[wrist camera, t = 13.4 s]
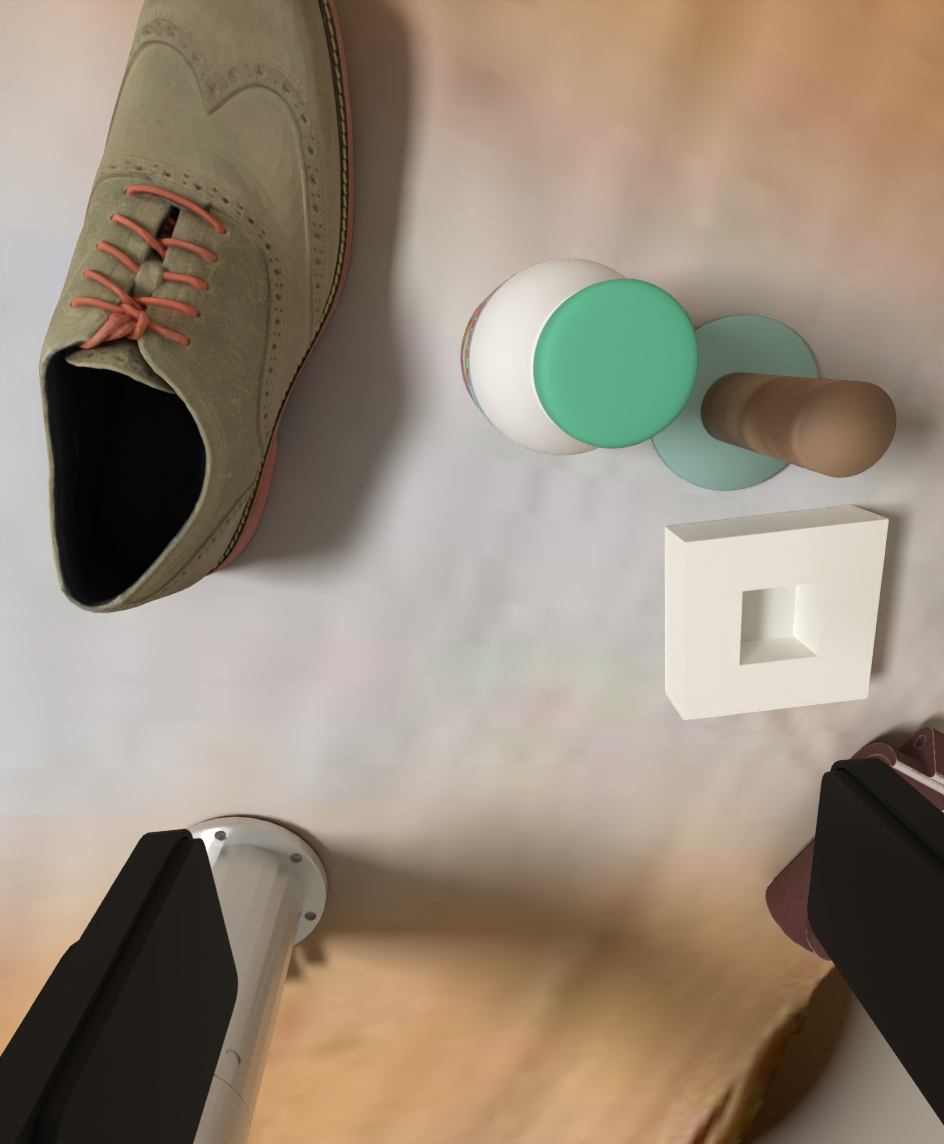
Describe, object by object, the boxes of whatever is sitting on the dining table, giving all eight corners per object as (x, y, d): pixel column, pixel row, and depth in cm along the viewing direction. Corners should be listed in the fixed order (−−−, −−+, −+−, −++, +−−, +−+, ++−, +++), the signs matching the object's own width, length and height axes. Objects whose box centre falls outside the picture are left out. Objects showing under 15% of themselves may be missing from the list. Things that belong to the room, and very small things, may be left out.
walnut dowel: (765, 438, 38) (889, 472, 28) (699, 445, 38) (799, 482, 28) (769, 369, 37) (901, 377, 26) (701, 375, 37) (807, 386, 26)
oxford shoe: (396, -9, 31) (374, -212, 20) (296, 590, 41) (243, 682, 29) (157, -87, 29) (-14, -355, 18) (113, 553, 39) (-16, 634, 28)
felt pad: (807, 479, 40) (813, 481, 39) (648, 497, 40) (652, 499, 39) (820, 306, 36) (826, 305, 36) (647, 325, 36) (650, 325, 36)
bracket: (983, 748, 44) (1040, 855, 35) (831, 888, 52) (847, 1002, 44) (896, 703, 45) (931, 796, 36) (760, 846, 53) (763, 950, 45)
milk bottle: (611, 307, 36) (807, 262, 17) (567, 441, 38) (696, 532, 19) (480, 264, 35) (532, 167, 16) (443, 405, 37) (451, 464, 18)
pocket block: (835, 672, 44) (867, 698, 41) (665, 692, 44) (683, 720, 41) (851, 504, 40) (888, 518, 37) (664, 526, 40) (685, 542, 37)
